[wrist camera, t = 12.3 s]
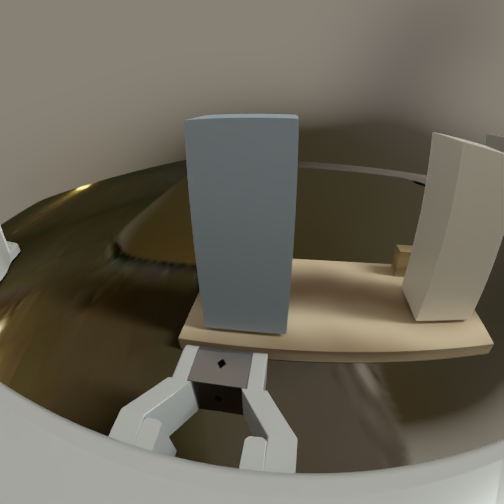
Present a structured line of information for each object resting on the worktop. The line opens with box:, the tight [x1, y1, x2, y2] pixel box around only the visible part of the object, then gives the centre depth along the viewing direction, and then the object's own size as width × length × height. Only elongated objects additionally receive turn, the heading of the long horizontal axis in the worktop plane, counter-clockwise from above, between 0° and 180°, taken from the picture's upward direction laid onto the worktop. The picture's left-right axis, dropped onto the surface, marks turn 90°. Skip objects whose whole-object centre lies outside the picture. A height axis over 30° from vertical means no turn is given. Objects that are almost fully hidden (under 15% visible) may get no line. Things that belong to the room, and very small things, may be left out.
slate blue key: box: [184, 114, 299, 334], centre depth 16 cm, size 4×5×12 cm
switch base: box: [178, 245, 494, 363], centre depth 20 cm, size 10×22×3 cm, turn 82°
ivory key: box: [401, 132, 504, 321], centre depth 16 cm, size 4×5×12 cm
